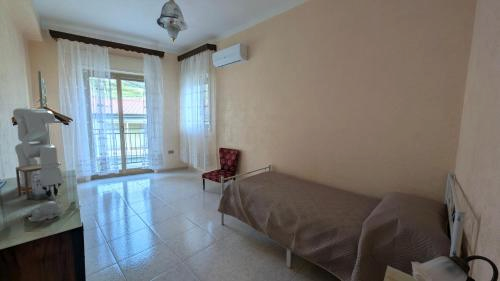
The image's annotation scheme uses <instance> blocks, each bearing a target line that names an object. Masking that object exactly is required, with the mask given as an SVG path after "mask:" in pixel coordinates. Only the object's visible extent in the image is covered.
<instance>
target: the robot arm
mask: <svg viewBox="0 0 500 281" xmlns="http://www.w3.org/2000/svg"><path fill="white" fill-rule="evenodd" d="M12 116H13V118H14V120H15V121H16V123H17V138H18V140H19V141H20V142H21V143H18V144H16V145H15V146H14V150H15V151H14V152H15V153H16V156H17V160H18V161H17V162H18V167H23V166H30V165H37V164H38V160H37V158H39V160H40V164H41V169H40V170H39V171H33V172H27V178H28V187H31V186H32V182H31V175H35V174H39V175H38V183H39V184H38V186H37V188H39V189H44V190H46V196H48V197H51V192H50V190H49V185H54V191H55V196H58V193H59V190H58V189H59V188H60V186H61V185H63V184H64V183H65V180H63V175H62V170H61V168H60V167H59V166H61V165H62V163H61V162H58V150H57V146H55V145H54V144H51V143H50V134H49V130H48V129H47V128H48V127H47V124H48V125H49V124H54V123H55V122H56V117H55V114H54V112H53V111H51V110H49V109H47V108H25V107H24V108H21V107H19V108H15V109H13V110H12ZM19 177H20V186H21V188H26V187H25V177H24V172H21V171H19ZM42 186H44V187H42Z"/></svg>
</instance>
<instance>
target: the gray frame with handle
mask: <svg viewBox="0 0 500 281" xmlns="http://www.w3.org/2000/svg"><path fill="white" fill-rule="evenodd" d="M49 190H50V192H51V197H48V196H46V193H42V194H38V195H36V194H33V192H29V197H30V199H32V200H34V201H38V200H42V199H47V200H50V201H54V200H55V198H56V195H55V191H54V185H49Z"/></svg>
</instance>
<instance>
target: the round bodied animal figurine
mask: <svg viewBox="0 0 500 281" xmlns="http://www.w3.org/2000/svg"><path fill="white" fill-rule="evenodd" d="M62 211H63V209H62V207H60V206H59V203H58V202H56V201H54V200H50V201H46V202H44V203H43V204H41V205H40V208H39V209H37V210H35V209H33V211H32V212H31V217H29V216H28V217H27V218H28V219H29V220H30V221H31V222H33V223H34V222H38V220H39V219H41V218H43V217H44V216H46V217H47V219H48V220H49V221H50V220H52V219H54V218H55V217H58V216H61V215H62V213H63V212H62Z"/></svg>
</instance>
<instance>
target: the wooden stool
mask: <svg viewBox="0 0 500 281" xmlns="http://www.w3.org/2000/svg"><path fill="white" fill-rule="evenodd" d="M40 169H41V163H39V164H38V163H37V165H30V166H23V167H19V166H16V167H15V175H16V184H17V189H18V192H17V193H18V196H19V197H20V196H22V194H21V186H20V184H21V180H20V171H21V172H24V177H25V187H24V188H26V200H30V199H31V198H30V197H29V187H28V178H27V172H33V171H38V172H39V170H40Z"/></svg>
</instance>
